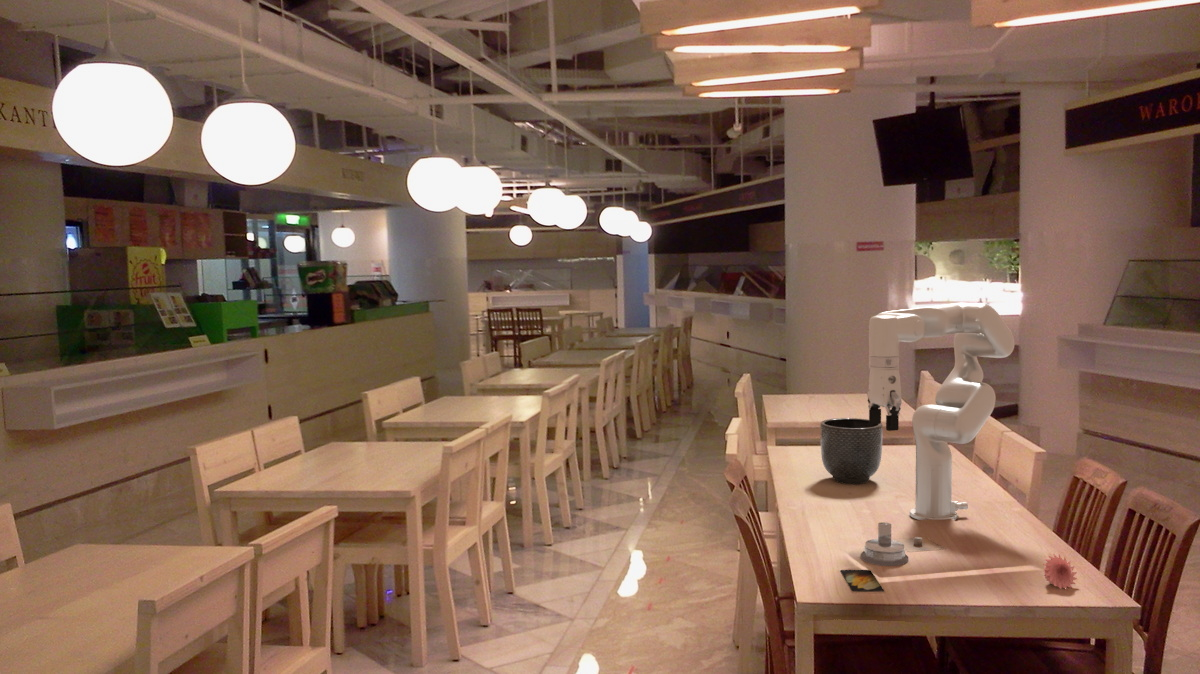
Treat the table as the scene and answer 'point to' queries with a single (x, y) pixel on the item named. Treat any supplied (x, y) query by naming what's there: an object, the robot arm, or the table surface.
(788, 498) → the table surface
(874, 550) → the metal knob with peg
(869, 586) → the smartphone
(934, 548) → the stand
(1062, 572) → the flower
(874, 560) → the metal pot lid
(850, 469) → the planter
